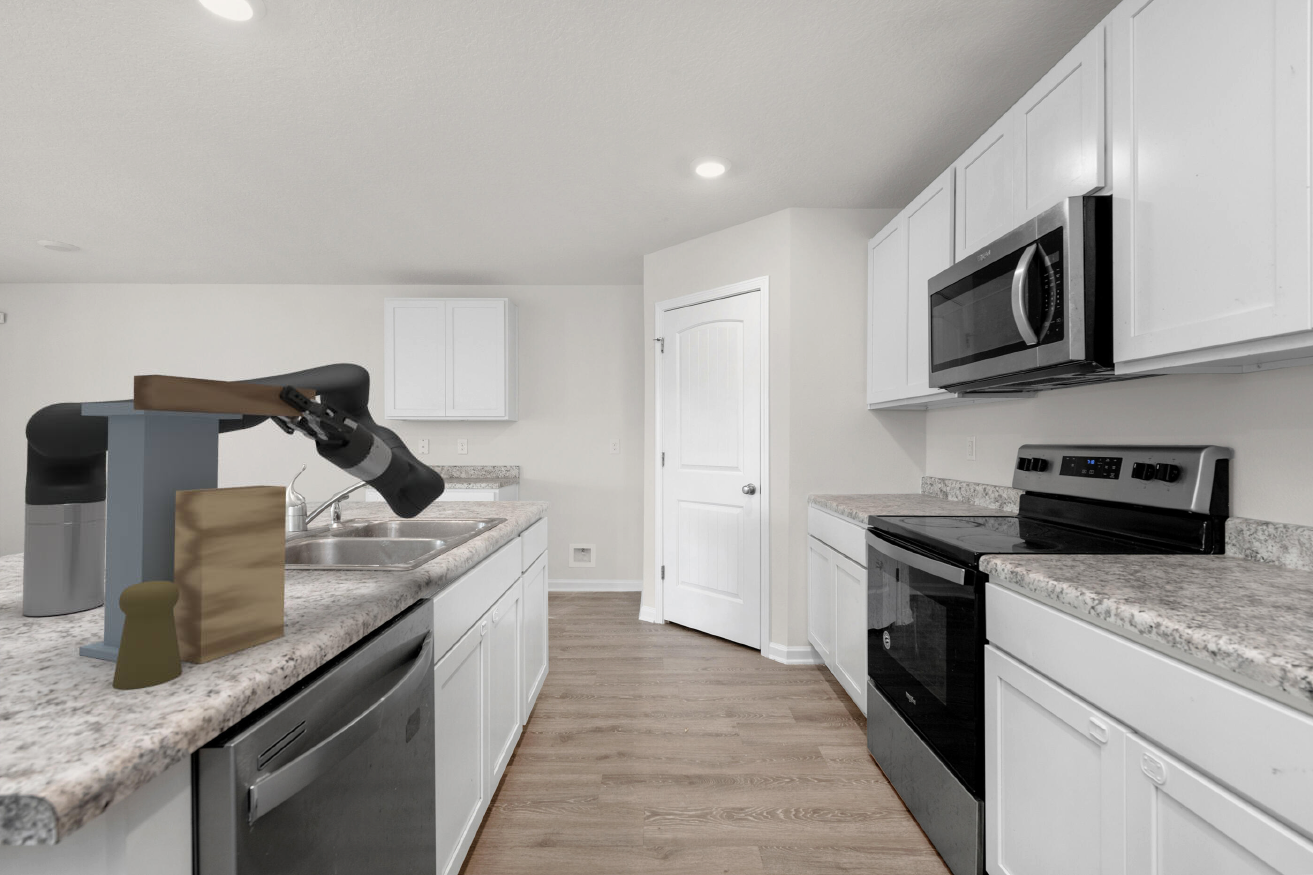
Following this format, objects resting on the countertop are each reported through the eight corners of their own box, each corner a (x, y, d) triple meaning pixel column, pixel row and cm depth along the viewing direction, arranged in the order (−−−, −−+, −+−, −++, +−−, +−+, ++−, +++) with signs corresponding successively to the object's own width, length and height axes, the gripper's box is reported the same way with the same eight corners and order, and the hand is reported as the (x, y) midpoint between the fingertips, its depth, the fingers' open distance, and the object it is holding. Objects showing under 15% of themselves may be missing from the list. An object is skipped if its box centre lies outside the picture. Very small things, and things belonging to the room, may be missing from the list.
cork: (141, 691, 63) (143, 590, 63) (97, 686, 64) (99, 587, 64) (195, 670, 69) (197, 577, 69) (154, 666, 70) (156, 575, 70)
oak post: (172, 658, 73) (175, 491, 73) (257, 632, 83) (260, 485, 83) (200, 663, 71) (203, 492, 71) (283, 635, 81) (286, 486, 82)
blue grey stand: (76, 654, 74) (81, 403, 74) (179, 626, 85) (183, 409, 86) (139, 666, 70) (144, 402, 70) (238, 635, 81) (242, 408, 82)
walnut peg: (133, 409, 68) (133, 375, 68) (295, 416, 88) (295, 390, 88) (156, 409, 67) (156, 374, 67) (315, 416, 87) (315, 389, 87)
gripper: (332, 430, 100) (247, 371, 86) (398, 430, 96) (321, 367, 82) (312, 469, 97) (221, 413, 83) (381, 470, 92) (297, 412, 78)
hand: (271, 391), depth 82 cm, fingers closed on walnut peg, 4 cm apart
